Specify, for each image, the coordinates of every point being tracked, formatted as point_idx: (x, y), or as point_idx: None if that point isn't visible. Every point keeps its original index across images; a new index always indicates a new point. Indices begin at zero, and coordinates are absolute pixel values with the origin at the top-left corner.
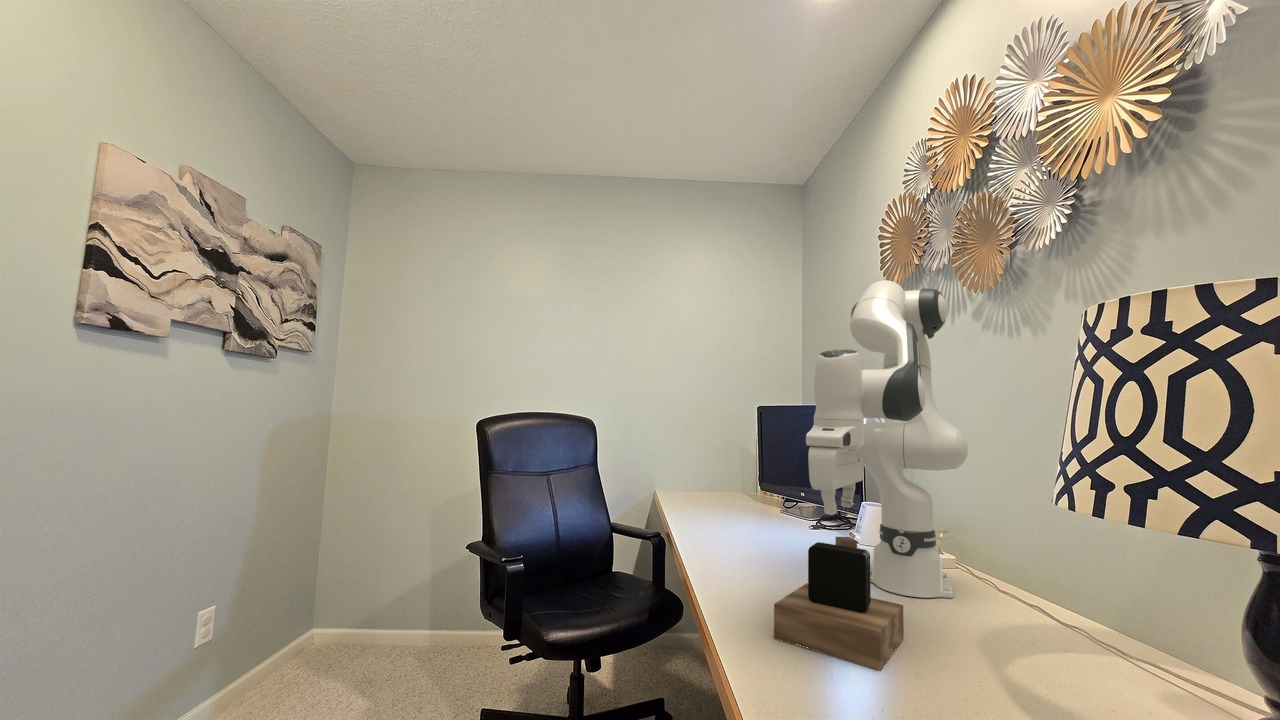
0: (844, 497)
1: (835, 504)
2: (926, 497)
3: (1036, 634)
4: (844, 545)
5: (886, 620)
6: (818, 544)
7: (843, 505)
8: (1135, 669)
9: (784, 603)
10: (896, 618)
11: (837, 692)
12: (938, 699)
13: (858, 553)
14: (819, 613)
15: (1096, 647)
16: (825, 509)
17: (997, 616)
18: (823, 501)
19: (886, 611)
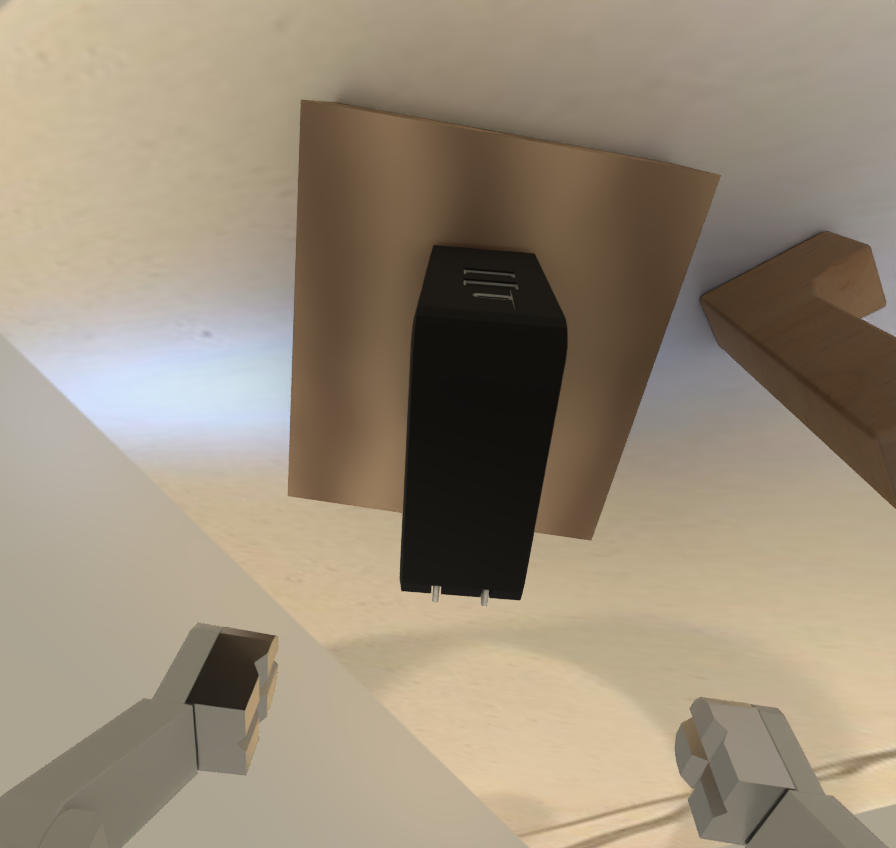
0: (750, 802)
1: (210, 769)
2: None
3: None
4: (857, 435)
5: (398, 505)
6: (489, 371)
7: (698, 715)
8: (629, 796)
9: (336, 146)
10: None
11: (118, 361)
12: (257, 540)
13: (405, 577)
14: (317, 309)
15: None
16: (182, 656)
17: (877, 665)
18: (109, 722)
19: None
